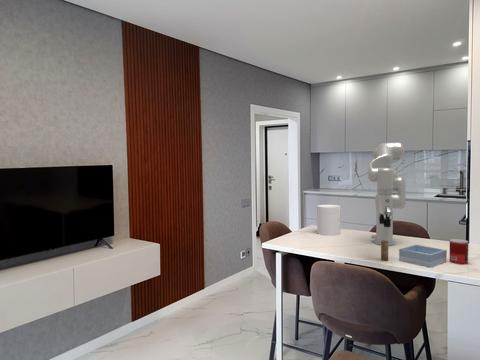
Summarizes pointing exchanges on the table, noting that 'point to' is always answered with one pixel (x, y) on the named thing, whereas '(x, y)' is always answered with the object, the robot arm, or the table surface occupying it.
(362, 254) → the table surface
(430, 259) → the slate box
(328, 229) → the canister
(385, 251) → the walnut peg
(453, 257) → the canned food
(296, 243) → the table surface
